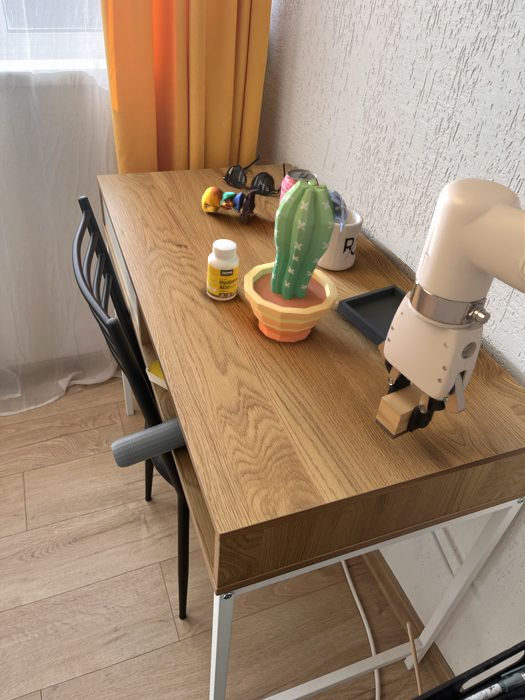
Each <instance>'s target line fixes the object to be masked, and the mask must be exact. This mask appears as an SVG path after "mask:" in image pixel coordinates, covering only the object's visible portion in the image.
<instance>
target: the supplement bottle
mask: <svg viewBox="0 0 525 700" xmlns="http://www.w3.org/2000/svg"><path fill="white" fill-rule="evenodd" d="M239 270H240V258H239V256H238V255H237V244H236V242H234V241H232V240H230V239H225V238H223V239H222V238H221V239H217V240H215V241H214V242H213V243H212V252H211V253H210V254H209V255H208V257H207V273H206V274H207V275H206V294H207V295H208V297H210V298H211V299H214V300H216V301H221V302H223V301H224V302H225V301H229V300H232V299H233V298H235V297H236V295H237V293H238V292H237V290H238V279H239Z"/></svg>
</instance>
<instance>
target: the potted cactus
mask: <svg viewBox="0 0 525 700" xmlns="http://www.w3.org/2000/svg"><path fill="white" fill-rule="evenodd" d="M279 204H280V206H279V205H278V208H277V210H276V211H275V218H274V219H275V220H274V233H273V239H274V245H275V250H276V254H275V258H274V261H271V262H268V263H264V264H258V265H255V266H254V267H253V268H252V269H250V270H249V271H248V272H247V273H246V274H245V275H244V276H243V288H244V290H243V292H244V296H245V299H246V300H247V301H248V302H249V303H250V306H251V310H252V313H253V314H254V316H255V317H256V318H257V320H258V328H259V330H260V331H261V332H262V333H263V334H264V335H265V336H266V337H267V338H269V339H273V340H275V341H277V342H285V343H296V342H298V341H302V340H305V339H306V338H307V337H308V335H310V333H311V332H312V331H311V329H312V328H313V327H315V326H316V325H317V323H318V322H319V321H320V320H321V319H322V317H323V316H325V315H326V314H327V313H328V312H329V311H330V310H331V308H332V307H333V306H334V305H335V304H336V302H337V299H338V298H339V293H338V289H337V285H336V282H335V281H334V280H333V279H332V278H330V277H329V276H327V274H325V273H324V272H323V271H322V270H321V269H320V270H319V269H317V268H316V267H317V266H318V265H317V263H318V261H319V260H320V259H321V257H322V256H323V254H324V253H325V252H326V250H327V249H328V247H329V243H330V239H331V236H332V232H333V228H334V225H335V220H337V219H339V221H341V229H340V232H343V230H344V227H345V224H346V222H347V218H348V210H347V208H348V207H347V206H348V205H347V204H346V202H345V199H343V197H342V195H341V194H340V193H339V192H338V191H337V190H331V189H329V188H328V187H327V184H326V183H320V184H319V186H317V182H316V180H315V179H311V180H310V181H309V182H308V183H307V182H306V181H304V180H303V179H300V180H299V181H298V182H297V183H296V184H295V185H294V186H293V187H291V188H290V189H289V190H288V191H287V192H286V194H285V195H284V197H283V199H282V200H281V202H280V201H279Z"/></svg>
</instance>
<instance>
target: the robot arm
mask: <svg viewBox="0 0 525 700" xmlns="http://www.w3.org/2000/svg"><path fill="white" fill-rule="evenodd" d="M436 201H437V202H436V205H435V208H434V211H433V215H432V218H431V222H430V226H429V228H428V233H427V236H426V238H425V242H424V246H423V249H422V253H421V256H420V259H419V261H418V266H417V269H416V272H415V275H414V279H413V283H412V286H411V289H410V290H409V291H408V292H406V293H407V294H406V296H405V297H404V299H403V301H402V302H401V304H400V306H399V308H398V310H397V312H396V314H395V316H394V319H393V321H392V324H391V326H390V329H389V332H388V335H387V338H386V340H385V341H384V342H382V343H381V344H379V345H377V350H378V351H379V354H380V355H381V358H382V359H383V360H384V365H385V368H386V371H387V374H388V375H387V378H386V381H387V384H388V385H389V386H388V390H387V393H386V395H388V394H391V393H393V392H395V391H398V390H400V389H402V388H405V387H407V386H409V385H411V384H413V383H414V384H415V385H416V386H417V387H419V388H420V389H421V390H422V392H421V397H420V402H419V405H418V406H416V407H414V409H413V412H412V415H411V417H410V420H409V423H408V426H407V430H408V431H409V432H408V433H414V432H415V431H417V430H419V429H420V430H423V429H425V428H427V427H428V426H429V424H430V422H431V421H432V420H431V418H432V415H433V413H434V411H435V412H441V411H444V412H447V413H451V414H455V415H457V414H460V413H461V412H463V411H465V410H466V409H467V406H466V405H467V404H466V398H465V391H464V390H466V388H467V387H468V385H469V383H470V381H471V378H472V375H473V373H474V369H475V366H476V364H477V360H478V358H479V357H478V356H479V353H480V349H481V345H482V339H483V332H484V325H485V324H487V322H488V321H489V320H491V319H490V318H491V315H492V314H491V313H490V312H489V311H487V309H486V308H485V305H486V302H487V300H488V298H487V296H488V294H489V291H490V288H491V287H492V284H493V281H494V279H496V280H498V281H500V282H502V283H503V284H506V285H507V286H509V287H511V288H513V289H514V290H516V291H518V292H520V293H522V294H524V295H525V209H523V208H522V204H521V200H520V198H519V196H518V195H517V193H516V192H515V191H514V190H513V189H511V188H509V187H508V186H506V185H504V184H501V183H499V182H496V181H493V180H489V179H484V178H476V177H463V178H456V179H454V180H452V181H450V182H448V183H447V184H446V185H445V186H444V187H443V188H442V190H441V191H440V193H439V196H438V198H437V200H436ZM446 395H447V396H446ZM434 414H435V413H434ZM432 419H433V418H432ZM430 420H431V421H430Z"/></svg>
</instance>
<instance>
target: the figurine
mask: <svg viewBox="0 0 525 700" xmlns="http://www.w3.org/2000/svg"><path fill="white" fill-rule="evenodd" d="M257 191H258V189H252V190H250V191H249V192H248V193H247V194H245V193H244V192H240V193H237V192H232V191H226V192H224V191H223V190H222V189H221V188H219V187H216V186H210V187H209V188H206V190H205V191H204V194H203V195H202V199H201V206H202V210H203V211H204V212H205V213H216V212H218V211H219V210H220V209H223V210H225V211H229V210H233V211H235V212H236V213H238V214H239V213H240V215H239V216H240V217H241V221H242V222H243V223H244V224H246V225H248V224H249V223H248V220H249V219H250V218H252V217H253V216H255V212H254V210H255V209H256V193H257Z"/></svg>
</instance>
